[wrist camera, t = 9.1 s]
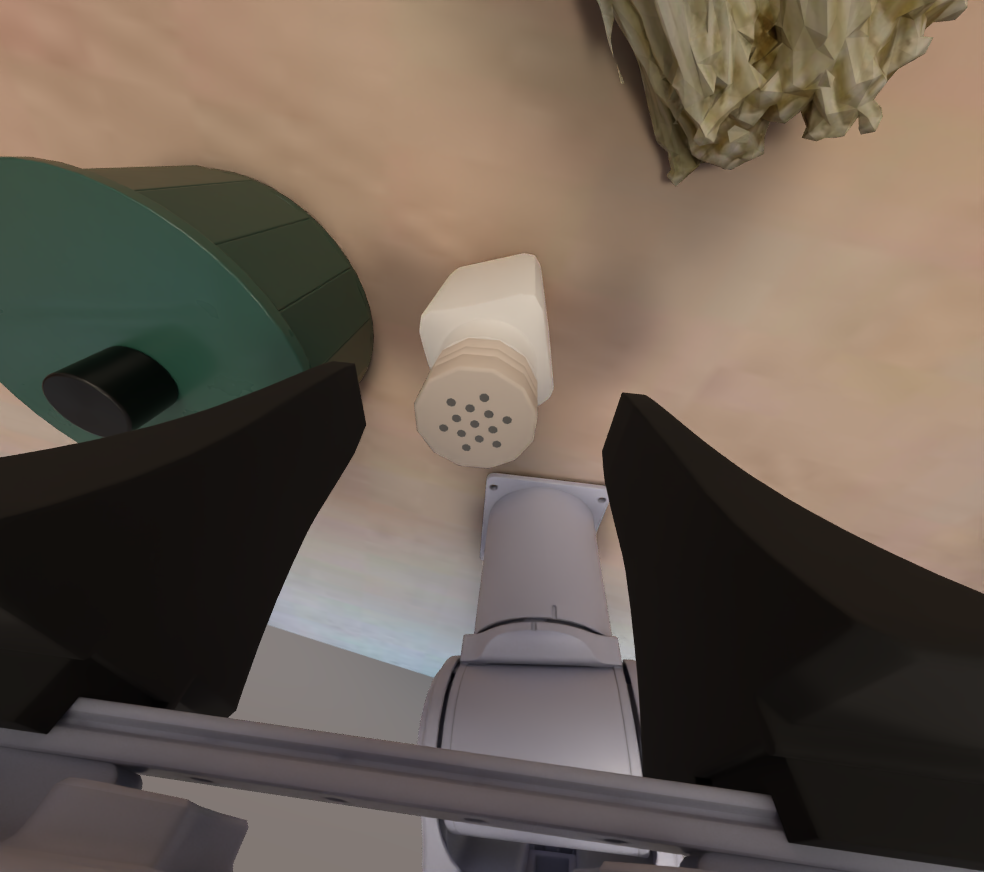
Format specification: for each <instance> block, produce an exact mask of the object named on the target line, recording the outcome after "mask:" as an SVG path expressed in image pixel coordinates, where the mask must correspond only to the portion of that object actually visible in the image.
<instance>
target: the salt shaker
mask: <svg viewBox="0 0 984 872" xmlns="http://www.w3.org/2000/svg"><path fill="white" fill-rule="evenodd" d="M419 333H420V337H421V340H422V344H423V348H424V352H425V355H426V358H427V362H428V365H429V368H430V372H429V374H428V376H427V378H426V380H425V382H424V384H423V386H422V388H421V390H420V392H419V394H418V396H417V398H416V400H415V403H414V406H415V416H416V425H417V431H418V432H419V433H420V435H421V436H422V437H423V439H424V440H425V441H426V443H427V444H428V445H429V447H430V448H431V449H432V450H433V452H434V453H436V454H438V455H440V456H442V457H444V458H446V459H448V460H449V461H451V462H453V463H455V464H457V465H459V466H467V467H477V468H487V469H489V468H492V467H495V466H498V465H501V464H505V463H508V462H511V461H514V460H516V459H517V457H518V456H519V455H520V454H521V453H522V452H523V451H524V450H525V449H526V448H527V447H528V446H529V445H530V444H531V443H532V442H533V441H534V436H535V429H536V423H537V416H538V406H539V405H540V404H542V403H543V402H545V401H546V400H548V399H549V398H550V396H551V394H552V391H553V389H554V384H553V372H552V360H551V348H550V336H549V326H548V318H547V310H546V302H545V294H544V286H543V278H542V270H541V265H540V263H539V261H538V259H537V258H536V256H535V255H531V254H527V253H522V254H517V255H513V256H508V257H503V258H499V259H494V260H490V261H485V262H480V263H476V264H471V265H467V266H462V267H459V268H457V269H456V270H455V271H453V272H452V273H451V274H450V275H449V277H448V278H447V279H446V281H445V282H444V284H443V285H442V287H441V288H440V289H439V291H438V292H437V294H436V295H435V296H434V298H433V299H432V301H431V302H430V304H429V305H428V306H427V308H426V309H425V311H424V312H423V314H422V315H421V321H420V329H419Z"/></svg>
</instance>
